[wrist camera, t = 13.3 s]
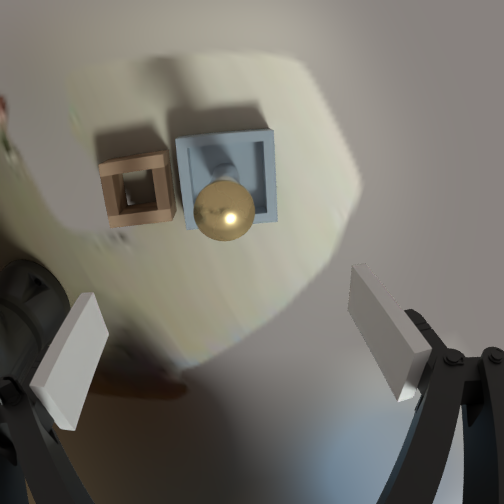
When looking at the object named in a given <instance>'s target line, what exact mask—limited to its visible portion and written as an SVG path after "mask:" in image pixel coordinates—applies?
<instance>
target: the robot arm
mask: <svg viewBox="0 0 504 504" xmlns="http://www.w3.org/2000/svg"><path fill="white" fill-rule="evenodd" d="M348 311H349V313H350V315H351V317H352V318H353V320H354V322H355V324H356V326H357V327H358V329H359V331H360V333H361V334H362V336H363V338H364V340H365V342H366V344H367V345H368V347H369V349H370V351H371V353H372V355H373V356H374V358H375V360H376V362H377V364H378V366H379V368H380V369H381V371H382V373H383V375H384V377H385V379H386V381H387V383H388V385H389V386H390V388H391V390H392V392H393V394H394V396H395V398H396V400H397V402H399V401H403V400H406V399H409V398H412V397H414V395H415V392H416V390H417V388H418V389H419V391H420V393H421V394H422V395H421V397H420V399H419V401H418V404H417V406H416V408H415V410H416V411H415V414H414V417H413V420H412V423H411V425H410V428H409V431H408V433H407V436H406V439H405V441H404V444H403V446H402V449H401V451H400V454H399V456H398V458H397V461H396V463H395V465H394V468H393V470H392V472H391V474H390V476H389V479H388V481H387V483H386V485H385V487H384V489H383V491H382V493H381V495H380V497H379V499H378V501H377V503H376V504H432V503H433V500H434V498H435V495H436V492H437V489H438V486H439V484H440V481H441V478H442V475H443V472H444V468H445V465H446V462H447V458H448V454H449V451H450V447H451V444H452V440H453V436H454V431H455V427H456V423H457V418H458V414H459V409H460V405H461V406H462V420H463V437H464V438H463V440H464V484H463V503H462V504H504V351H503V350H501V349H499V348H496V347H488V348H486V349H484V351H483V353H482V355H481V357H469V358H468V357H465V356H464V354H462V353H461V352H460V351H458V350H455V349H449V348H447V347H446V346H445V344H444V343H443V342H442V340H441V339H440V338H439V337H438V335H437V334H436V333H435V332H434V330H433V329H431V327H430V325H429V324H428V323H427V322H426V320H425V319H424V318H423V317H422V315H421V314H419V313H418V312H416V311H414V310H413V309H409V310H403V309H402V308H401V307H400V305H399V304H398V303H397V302H396V300H395V299H394V298H393V296H392V295H391V294H390V293H389V292H388V290H387V289H386V288H385V286H384V285H383V284H382V283H381V282H380V280H379V279H378V278H377V277H376V276H375V274H374V273H373V272H372V271H371V269H370V268H369V267H368V266H367V265H366V264H357V265H352V270H351V281H350V292H349V303H348ZM108 336H109V333H108V330H107V328H106V325H105V323H104V320H103V317H102V315H101V312H100V309H99V307H98V304H97V301H96V298H95V295H94V292H89V293H81V294H80V296H79V297H78V299H77V300H76V302H75V304H74V305H73V307H72V309H71V310H70V304H69V301H68V298H67V295H66V293H65V291H64V289H63V288H62V286H61V285H60V283H59V282H58V281H57V280H56V278H55V277H54V276H53V275H52V274H51V273H50V272H48V271H47V270H46V269H45V268H43V267H42V266H40V265H38V264H36V263H34V262H31V261H27V260H16V261H13V262H11V263H9V264H8V265H7V266H6V267H5V268H4V269H3V270H2V271H1V272H0V504H29V502H28V496H27V490H26V484H25V478H26V481H27V483H28V486H29V488H30V491H31V493H32V495H33V498H34V500H35V502H36V504H95V503H94V502H93V500H92V499H91V497H90V495H89V494H88V492H87V490H86V489H85V487H84V485H83V484H82V482H81V480H80V479H79V477H78V475H77V473H76V471H75V470H74V468H73V466H72V464H71V462H70V460H69V458H68V457H67V455H66V453H65V451H64V449H63V447H62V445H61V443H60V441H59V438H58V437H57V434H56V432H55V431H54V429H53V428H52V425H53V423H54V421H55V422H56V424H57V425H58V426H59V428H60V429H66V430H73V431H75V429H76V426H77V422H78V419H79V416H80V413H81V410H82V407H83V404H84V401H85V398H86V395H87V392H88V389H89V386H90V383H91V381H92V378H93V375H94V372H95V370H96V367H97V364H98V361H99V359H100V356H101V354H102V351H103V348H104V346H105V343H106V341H107V338H108ZM50 344H51V345H50ZM49 345H50V346H49Z"/></svg>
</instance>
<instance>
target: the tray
mask: <svg viewBox="0 0 504 504" xmlns="http://www.w3.org/2000/svg"><path fill="white" fill-rule="evenodd" d="M175 142H176V151H177V160H178V169H179V177H180V185H181V193H182V200H183V208H184V215H185V222H186V229H187V230H191V229H199V228H198V227H197V225H196V223H195V220H194V215H193V209H194V204H195V201H196V198H197V196H198V194H199V193H200V191H201V190H202V189H203V188H204V187H205V186H206V185H208V184H209V183H210V182H211V178H212V174H213V171H214V169H215V168H216V167H217V166H218V165H220V164H222V163H229V164H232V165H233V166H235V167H236V169H237V170H238V173H239V179H240V184H241V185H243V186H244V187H245V188H246V189H247V190H248V191H249V193H250V194H251V196H252V199H253V202H254V206H255V218H254V221H253V223H252V224H256V223H268V222H278V218H277V192H276V169H275V148H274V130H272V129H270V128H268V129H251V130H237V131H225V132H214V133H205V134H195V135H187V136H179V137H178V138H176V139H175Z"/></svg>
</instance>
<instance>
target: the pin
mask: <svg viewBox="0 0 504 504" xmlns="http://www.w3.org/2000/svg"><path fill="white" fill-rule="evenodd" d="M193 215H194V220H195V223H196V225H197V227H198V228H199V229H200V231H201V232H202V233H203V234H205V235H206V236H208V237H209V238H211V239H214V240H218V241H231V240H234V239H237V238H239V237H241V236H242V235H244V234H245V233H246V232H247V231H248V230H249V229H250V227H251V225H252V223H253V221H254V218H255V206H254V202H253V199H252V196H251V194H250V193H249V191H248V190H247V189H246V188H245V187H244V186H243V185H241V184H240V179H239V173H238V170H237V169H236V167H235V166H233V165H232V164H229V163H222V164H220V165H218V166H217V167H216V168H215V169H214V171H213V174H212V178H211V182H210V183H209V184H208V185H206V186H205V187H204V188H203V189H202V190H201V191H200V193H199V194H198V196H197V198H196V201H195V204H194V209H193Z"/></svg>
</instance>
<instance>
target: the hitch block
mask: <svg viewBox="0 0 504 504" xmlns="http://www.w3.org/2000/svg"><path fill="white" fill-rule="evenodd" d="M98 166H99V172H100V178H101V184H102V189H103V195H104V200H105V205H106V209H107V215H108V219H109V224H110V228H116V227H124V226H132V225H141V224H149V223H158V222H167V221H172V220H173V218H174V216H175V213H176V211H177V209H176V202H175V195H174V188H173V180H172V173H171V164H170V156H169V150H163V151H156V152H149V153H143V154H136V155H130V156H124V157H119V158H113V159H109V160H107V161H105V162H103V163H101V164H99V165H98ZM147 169H152V174H153V181H154V188H155V195H156V201H157V202H150V203H142V204H134V205H128V204H127V198H126V193H125V187H124V181H123V175H122V173H127V172H134V171H140V170H147Z"/></svg>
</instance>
